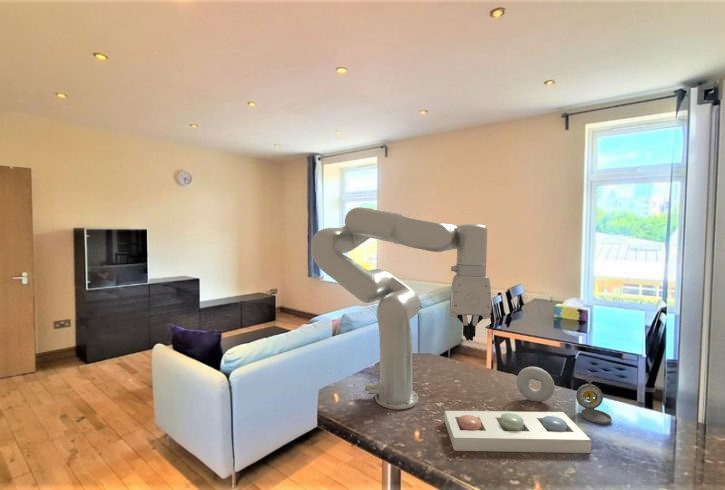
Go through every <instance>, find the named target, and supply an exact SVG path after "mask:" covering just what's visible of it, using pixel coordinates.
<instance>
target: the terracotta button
mask: <svg viewBox="0 0 725 490" xmlns="http://www.w3.org/2000/svg"><path fill="white" fill-rule="evenodd" d="M459 428H460V430H471V431H481V421H480V419H479V418H477V417H475V416H472V415H463V416H461V417H460V418H459Z"/></svg>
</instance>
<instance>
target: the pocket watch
mask: <svg viewBox="0 0 725 490" xmlns="http://www.w3.org/2000/svg"><path fill="white" fill-rule="evenodd" d="M587 377H592V378H593V379H592V378H588V379H586V378H587ZM583 379H584V380H585V381H586V382H587V383H585V384H582V385H581V386H579V387H578V388H577V390H576V393H575V397H576V401H577V403H578V404H579V405H580V406H581V407H583V408H584V409H582V410H581V416H582V417H583V418H584V419H586V420H587V421H590V422H592V423H595V424H602V425H605V424H606V425H607V424H610V423H612V421H613V420H612V419H613V418H612V416H611V415H610V414H608V413H607V412H604V411H603V410H599V409H597V408H598V407H599V406H601V404H602V403H603V401H604V394H603V392H602V390H601V388H599V387H598V386H597V385H594V384H592V382H594V381H595V377H594V376H593V375H590V374H587V375H585V376H584V377H583Z"/></svg>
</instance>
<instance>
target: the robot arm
mask: <svg viewBox="0 0 725 490" xmlns="http://www.w3.org/2000/svg"><path fill="white" fill-rule="evenodd" d="M369 239H375V240H380V241H383V242H388V243H389V242H390V243H393V244H395V245H401V246H405V247H408V248H413V249H418V250H423V251H427V252H434V253H443V252H445V251H446V252H447V251H451V250H456V264H455V265H453V266H452V265H451V266H450V272H455V274H453V277H452V281H451V289H450V299H449V301H450V302H449V306H450V307H449V312H448V315H449V317H450V318H454V319H457V320H459V321H460V322H461V323H462V336H463V337H464V338H465V340H466V341H471V342H473V341H474V338H475V337H476V326H478V324H479V323H480V322H481V321H482V320H487V319H491V317H492V315H491V313H492V290H491V287H492V286H491V281H490V277H489V276H487V253H488V252H487V249H488V229H487V227H486V225H483V224H473V223H472V224H468V223H467V224H460V225H459V224H452V223H444V222H433V221H427V220H422V219H415V218H410V217H406V216H404V215H402V214H400V213H397V212H390V211H386V210H385V211H384V210H378V209H373V208H369V207H362V206H361V207H359V206H358V207H354V208H351V209H349V211H348V212H347V213H346V215H345V218H344V225H343V226H342V227H327V228H322V229H320V230H319V231H317V232H316V233H314V235H313V237H312V239H311V241H310V242H311V243H310V250H311V256H312V259H313V260H314V262H315V264H316V265H317V267H318V268H319V269H320V270H321V271H322V272H323V273H324V274H326V275H327V276H328V277H329V278H331V279H332V280H334V281H335V282H336V283H338V284H339V285H340V286H341V287H343V289H345V290H346V291H347V292H348V293H350V294H351V295H352V296H354V297H355V298H356V299H357V300H359V301H360V302H362V303H364V304H370V303H374V302H375V301H379V302H378V305H377V308H376V319H377V325H378V332H379V335H378V336H379V380H378V383H377V382H376V383H375V384H370V383H369V384H368V383H366V384H364V386H365V387H364V391H365V392H368V394H369V395H374V400H375V402H376V403H377V404H378V405H380V406H381V407H383V408H386V409H390V410H405V409H406V410H407V409H410V408H413V407H414V406H416V405H417V404H418V402H419V395H418V393H417V392H416V391H415V390H413V335H412V328H411V319H413V318H414V317H415V316H416V315H417V314H418V313H419V311H420V309H421V300H420V297H419V296H418V294H417V293H416V292H415V291H414V289H412V288H411V287H409V286H408V285H407V284H405V283H404V282H403V281H401V280H400V279H399V278H396V277H395V276H394V275H393V274H391V273H390V272H388V271H386V270H384V269H381V268H380V269H378V268H374V269H370V270H369V269H367V268H365V267H363V266H362V265H360V264H359V263H358V262H357V261H355V259H353V258H350V257H349V256H347V255H345V254H346V253H349V252H351V251H353V250H354V249H356V248H357V247H359V246H360V245H362V244H364V243H365V242H366V241H368V240H369ZM468 316H471V317H470V321H469V320H468Z"/></svg>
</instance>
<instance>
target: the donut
mask: <svg viewBox="0 0 725 490" xmlns="http://www.w3.org/2000/svg"><path fill="white" fill-rule="evenodd" d="M534 379H535V380H538V382H540V383H541V386H540V388H538V389H535V388H532V387H531V385H530V381H531V380H534ZM516 386H517V389H518V391H519V393H520V394H521V395H522V396H523V397H524V398H525V399H527V400H528V401H532V402H535V403H542V402H546V401H548V400H549V399H551V398H552V396H553V394H554V392H555V388H556V387H555V386H556V385H555V382H554V379H553V378H552V375H551V374H549V372H547V371H546V370H544V369H543V368H541V367H538V366H528V367H524V368H522V369H521V370H520V371H519V373H518V375H517V377H516Z"/></svg>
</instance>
